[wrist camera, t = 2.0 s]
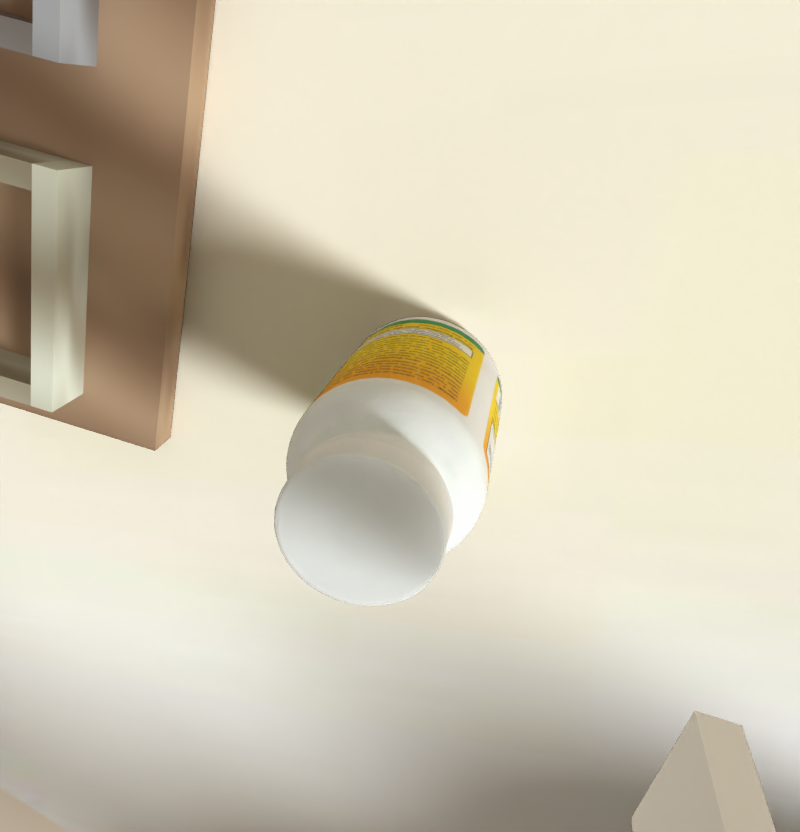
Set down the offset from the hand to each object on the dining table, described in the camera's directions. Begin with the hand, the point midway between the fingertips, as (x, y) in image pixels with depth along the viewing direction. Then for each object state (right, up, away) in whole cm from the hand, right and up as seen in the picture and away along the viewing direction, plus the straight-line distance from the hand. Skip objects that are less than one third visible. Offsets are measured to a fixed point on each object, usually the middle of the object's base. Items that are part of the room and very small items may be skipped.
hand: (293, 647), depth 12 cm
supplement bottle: (+3, +5, +13) cm, 14 cm away
